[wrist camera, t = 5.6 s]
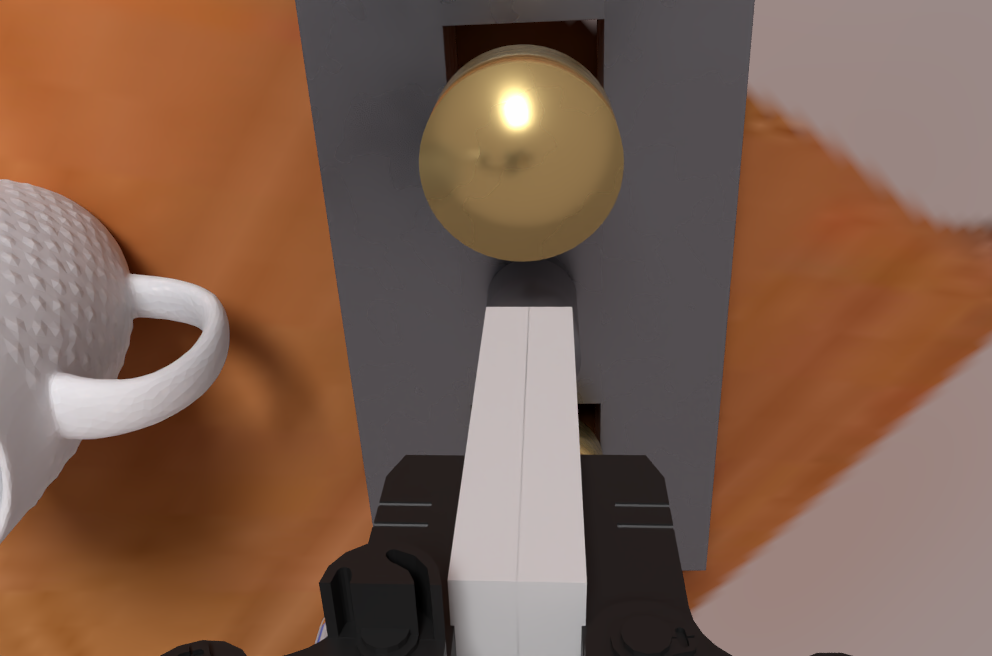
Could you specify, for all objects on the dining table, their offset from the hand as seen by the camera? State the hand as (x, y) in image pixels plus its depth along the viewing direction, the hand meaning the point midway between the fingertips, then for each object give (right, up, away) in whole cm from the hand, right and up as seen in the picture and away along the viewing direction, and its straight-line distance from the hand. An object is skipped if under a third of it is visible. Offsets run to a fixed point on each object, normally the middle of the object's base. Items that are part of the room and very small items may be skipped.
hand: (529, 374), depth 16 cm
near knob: (0, +8, +12) cm, 15 cm away
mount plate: (+1, +4, +19) cm, 20 cm away
